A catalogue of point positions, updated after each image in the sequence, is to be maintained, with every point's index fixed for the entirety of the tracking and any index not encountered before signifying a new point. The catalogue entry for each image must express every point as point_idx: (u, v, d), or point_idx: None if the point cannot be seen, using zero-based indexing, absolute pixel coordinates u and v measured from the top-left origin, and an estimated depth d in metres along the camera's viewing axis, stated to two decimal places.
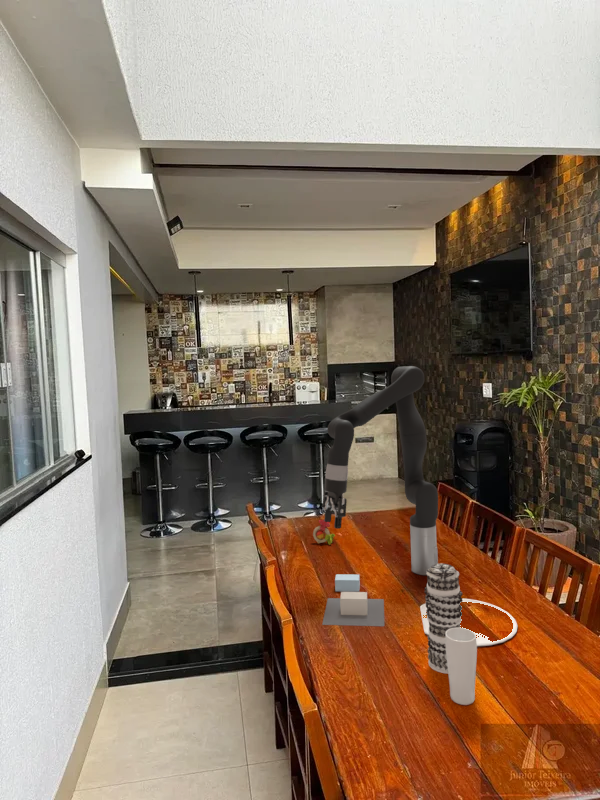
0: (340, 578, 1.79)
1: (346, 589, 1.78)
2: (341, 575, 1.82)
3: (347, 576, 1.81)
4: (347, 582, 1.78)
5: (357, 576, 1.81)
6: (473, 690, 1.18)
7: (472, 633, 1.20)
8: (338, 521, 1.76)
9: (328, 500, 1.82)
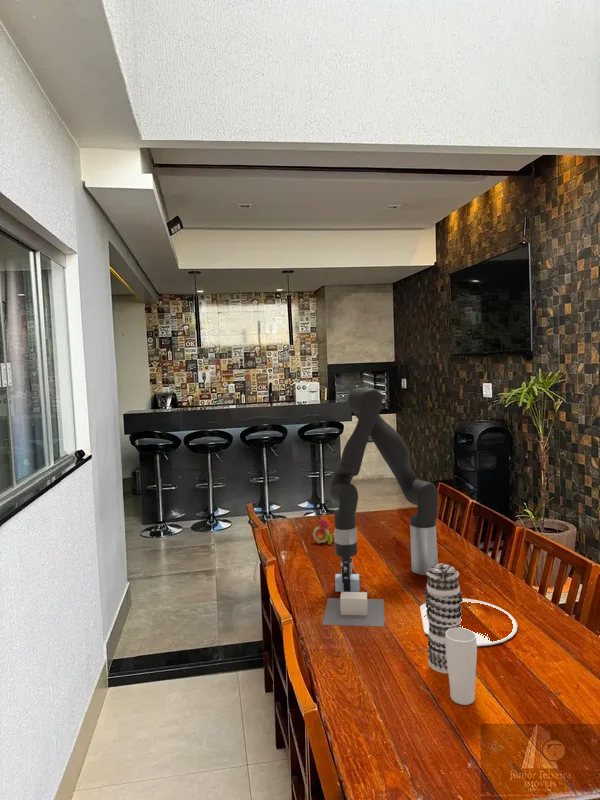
0: (340, 578, 1.79)
1: None
2: (341, 575, 1.82)
3: None
4: None
5: (357, 576, 1.81)
6: (473, 690, 1.18)
7: (472, 633, 1.20)
8: (345, 586, 1.77)
9: None
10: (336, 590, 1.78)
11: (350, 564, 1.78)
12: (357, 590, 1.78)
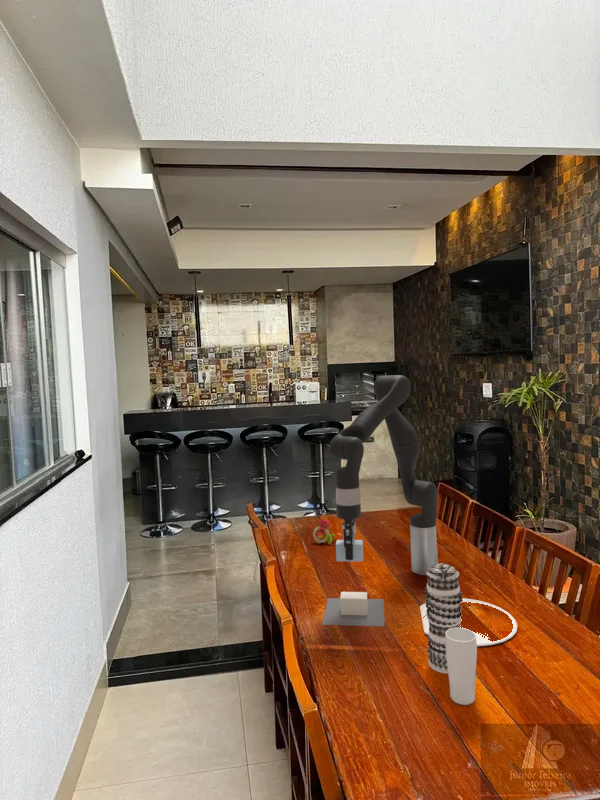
0: (341, 543, 1.62)
1: None
2: (342, 541, 1.65)
3: (349, 541, 1.64)
4: None
5: (360, 541, 1.64)
6: (473, 690, 1.18)
7: (472, 633, 1.20)
8: (347, 552, 1.60)
9: None
10: (337, 556, 1.61)
11: (353, 528, 1.61)
12: (360, 556, 1.60)
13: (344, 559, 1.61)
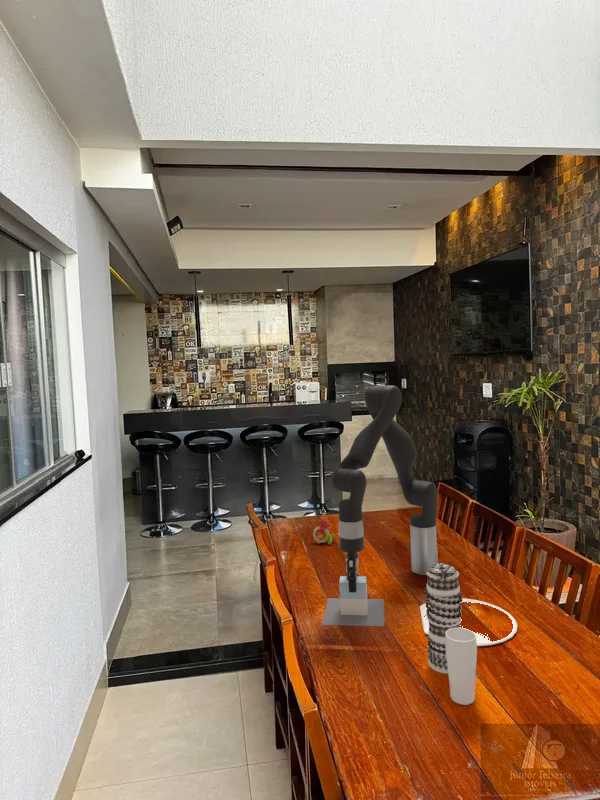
0: (345, 581, 1.62)
1: (352, 593, 1.60)
2: (346, 577, 1.64)
3: None
4: None
5: (364, 578, 1.63)
6: (473, 690, 1.18)
7: (472, 633, 1.20)
8: (351, 585, 1.58)
9: None
10: (340, 594, 1.61)
11: (356, 560, 1.60)
12: (364, 594, 1.60)
13: (348, 597, 1.61)
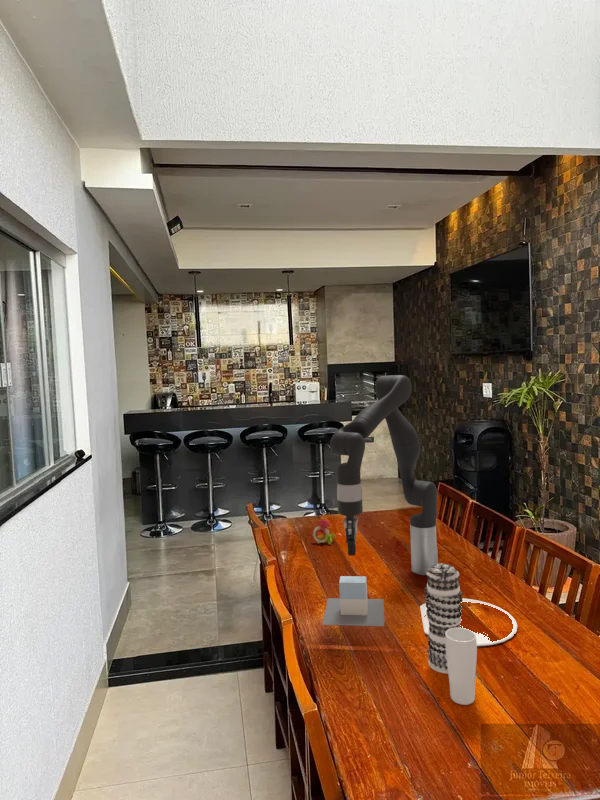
0: (345, 581, 1.62)
1: (352, 593, 1.60)
2: (346, 577, 1.64)
3: (353, 578, 1.63)
4: (353, 585, 1.60)
5: (364, 578, 1.63)
6: (473, 690, 1.18)
7: (472, 633, 1.20)
8: (350, 548, 1.60)
9: None
10: (340, 594, 1.61)
11: (355, 524, 1.60)
12: (364, 594, 1.60)
13: (348, 597, 1.61)
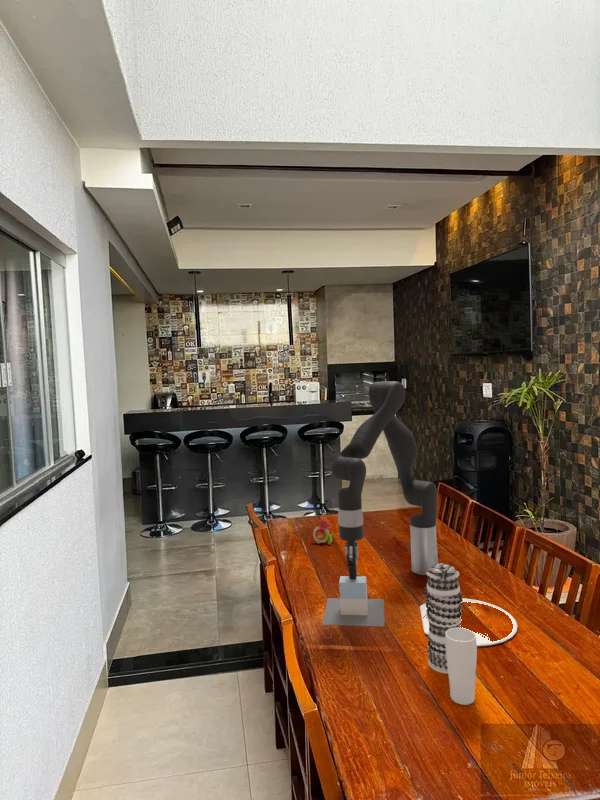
0: (345, 581, 1.62)
1: (352, 593, 1.60)
2: (346, 577, 1.64)
3: None
4: (353, 585, 1.60)
5: (364, 578, 1.63)
6: (473, 690, 1.18)
7: (472, 633, 1.20)
8: (351, 572, 1.61)
9: None
10: (340, 594, 1.61)
11: (356, 550, 1.60)
12: (364, 594, 1.60)
13: (348, 597, 1.61)
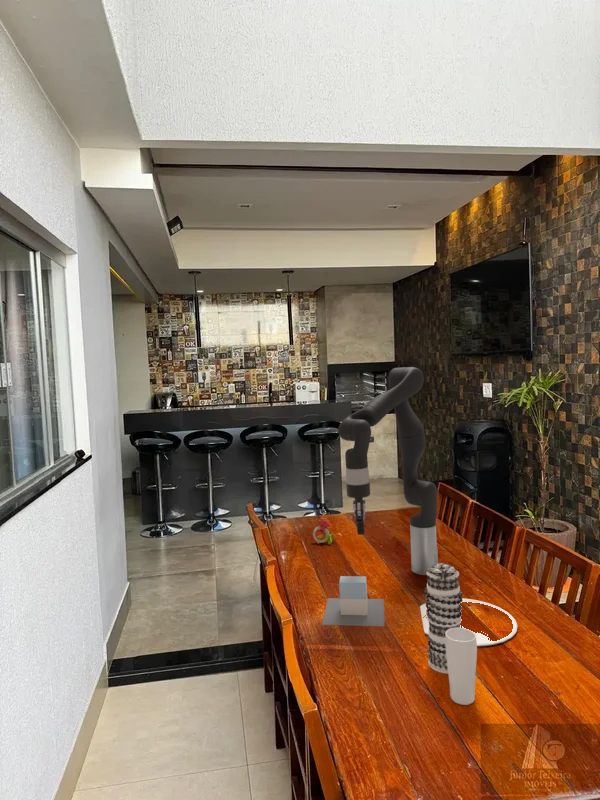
0: (345, 581, 1.62)
1: (352, 593, 1.60)
2: (346, 577, 1.64)
3: (353, 578, 1.63)
4: (353, 585, 1.60)
5: (364, 578, 1.63)
6: (473, 690, 1.18)
7: (472, 633, 1.20)
8: (359, 527, 1.70)
9: None
10: (340, 594, 1.61)
11: (363, 506, 1.69)
12: (364, 594, 1.60)
13: (348, 597, 1.61)
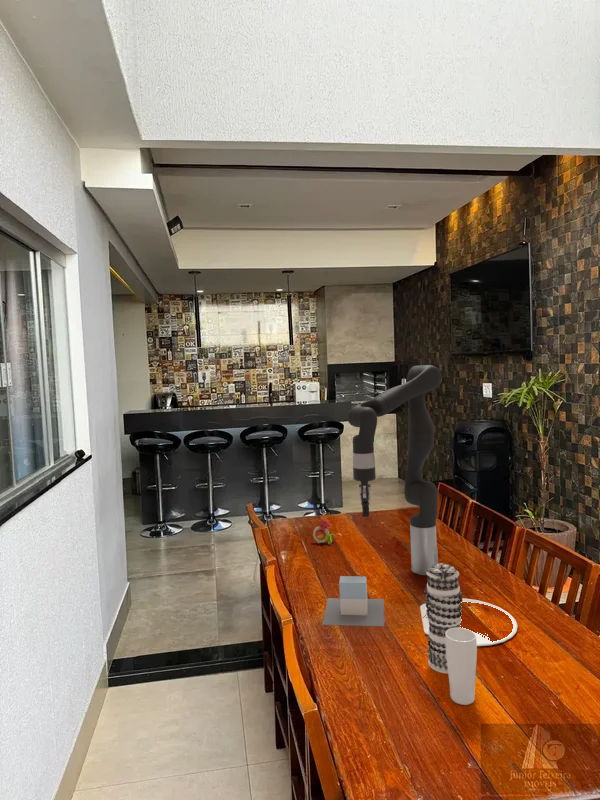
0: (345, 581, 1.62)
1: (352, 593, 1.60)
2: (346, 577, 1.64)
3: (353, 578, 1.63)
4: (353, 585, 1.60)
5: (364, 578, 1.63)
6: (473, 690, 1.18)
7: (472, 633, 1.20)
8: (364, 509, 1.80)
9: None
10: (340, 594, 1.61)
11: (369, 489, 1.78)
12: (364, 594, 1.60)
13: (348, 597, 1.61)
